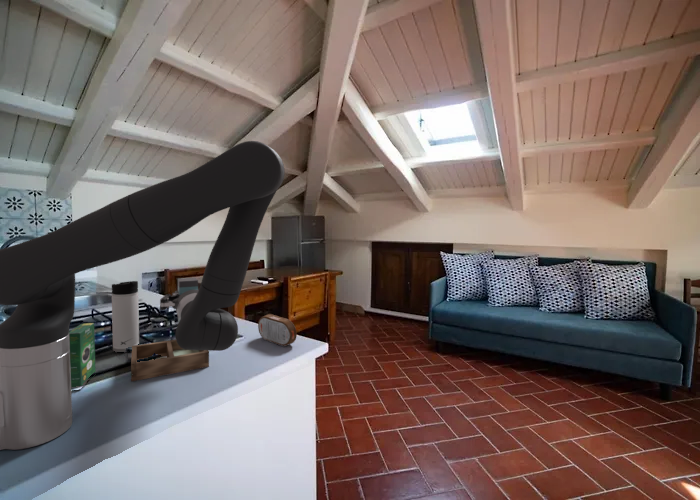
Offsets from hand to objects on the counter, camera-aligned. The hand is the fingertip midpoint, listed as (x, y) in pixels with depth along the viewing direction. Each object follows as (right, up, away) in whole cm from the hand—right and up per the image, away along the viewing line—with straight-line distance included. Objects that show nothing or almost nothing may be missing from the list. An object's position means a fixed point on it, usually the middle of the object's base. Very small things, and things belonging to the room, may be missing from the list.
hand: (186, 293), depth 89 cm
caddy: (-3, -18, -3) cm, 19 cm away
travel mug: (-20, -17, +5) cm, 27 cm away
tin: (+21, -18, +15) cm, 32 cm away
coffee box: (-17, -19, -14) cm, 29 cm away
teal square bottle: (+1, -8, -2) cm, 8 cm away
